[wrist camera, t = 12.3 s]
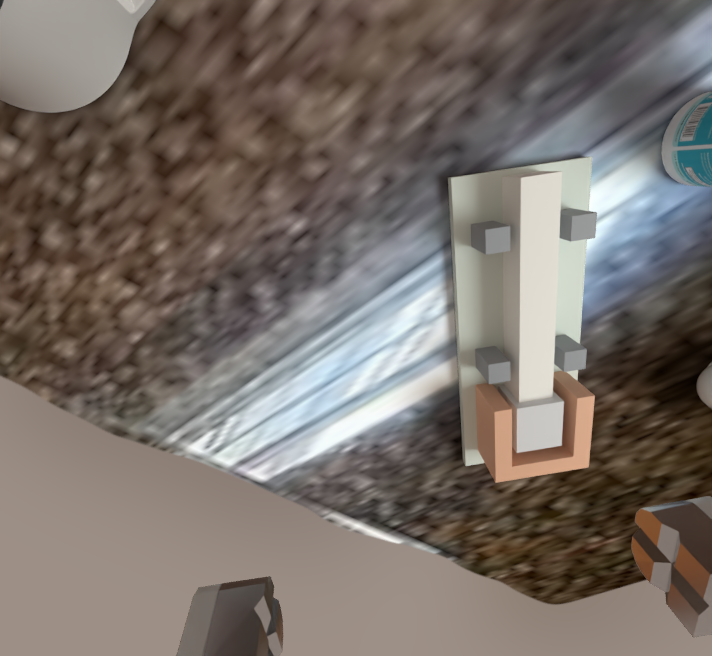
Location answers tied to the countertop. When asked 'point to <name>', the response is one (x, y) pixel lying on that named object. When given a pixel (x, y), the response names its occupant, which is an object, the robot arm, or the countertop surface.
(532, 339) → the white long bar
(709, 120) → the pill bottle
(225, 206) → the countertop surface
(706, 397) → the teapot
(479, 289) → the board
